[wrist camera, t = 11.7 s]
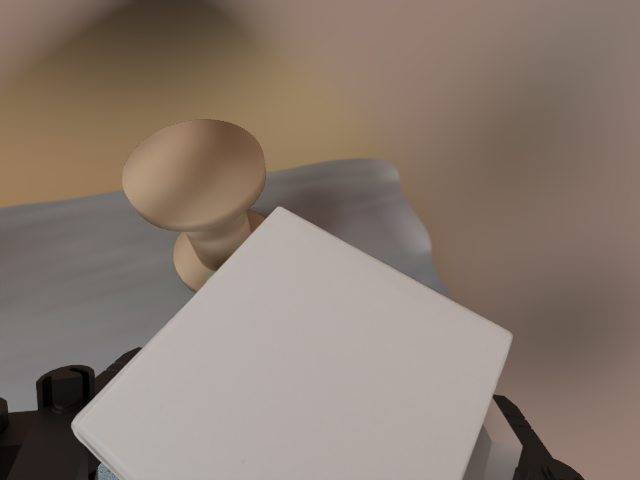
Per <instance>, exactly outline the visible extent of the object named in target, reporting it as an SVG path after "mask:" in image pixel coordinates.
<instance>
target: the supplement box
mask: <svg viewBox="0 0 640 480" xmlns="http://www.w3.org/2000/svg"><path fill="white" fill-rule="evenodd" d="M512 340H513V335H512V333H511V332H509V331H508V330H506V329H504V328H503V327H501V326H499V325H497V324H495V323H494V322H492V321H490V320H488V319H485V318H484V317H482V316H480V315H479V314H477V313H474V312H473V311H471V310H469V309H468V308H466V307H464V306H462V305H460V304H458V303H456V302H454V301H453V300H451V299H449V298H447V297H445V296H444V295H442V294H440V293H438V292H436V291H434V290H433V289H431V288H429V287H427V286H425V285H424V284H422V283H420V282H418V281H416V280H414V279H413V278H411V277H409V276H407V275H405V274H403V273H401V272H400V271H398V270H396V269H394V268H392V267H390V266H389V265H387V264H385V263H383V262H381V261H379V260H378V259H376V258H374V257H372V256H370V255H368V254H367V253H365V252H363V251H361V250H359V249H357V248H356V247H354V246H352V245H350V244H348V243H346V242H345V241H343V240H341V239H339V238H337V237H336V236H334V235H332V234H330V233H328V232H327V231H325V230H323V229H321V228H319V227H318V226H316V225H314V224H312V223H310V222H309V221H307V220H305V219H303V218H301V217H299V216H297V215H296V214H294V213H292V212H290V211H289V210H287V209H285V208H283V207H280V206H279V207H276V208H275V210H274V211H273V212H272V213H271V214H270V215H269V216H268V217H267V218H266V219H265V220H264V221H263V222H262V224H261V225H260V226H259V227H258V228H257V229H256V230H255V231H254V232H253V233H252V234H251V235H250V236H249V237H248V238H247V240H246V241H245V242H244V243H243V244H242V245H241V246H240V247H239V248H238V249H237V250H236V251H235V252H234V254H233V255H232V256H231V257H230V258H229V259H228V260H227V261H226V262H225V263H224V264H223V265H222V266H221V267H220V268H219V269H218V271H217V272H216V273H215V274H214V275H213V276H212V277H211V278H210V279H209V280H208V281H207V282H206V283H205V284H204V286H203V287H202V288H201V289H200V290H199V291H198V292H197V293H196V294H195V295H194V296H193V297H192V298H191V299H190V301H189V302H188V303H187V304H186V305H185V306H184V307H183V308H182V309H181V310H180V311H179V312H178V313H177V314H176V315H175V316H174V317H173V318H172V319H171V320H170V321H169V322H168V323H167V324H166V325H165V326H164V327H163V328H162V329H161V330H160V331H159V332H158V333H157V334H156V335H155V336H154V337H153V338H152V339H151V340H150V341H149V342H148V343H147V344H146V345H145V346H144V347H143V348H142V349H141V350H140V351H139V352H138V353H137V354H136V355H135V356H134V357H133V358H132V359H131V360H130V361H129V362H128V364H127V365H126V366H125V367H124V368H123V369H122V370H121V371H120V372H119V373H118V374H117V375H116V376H115V377H114V378H113V379H112V380H111V381H110V382H109V383H108V384H107V385H106V386H105V387H104V388H103V389H102V390H101V391H100V392H99V393H98V394H97V395H96V396H95V397H94V398H93V399H92V400H91V401H90V402H89V403H88V404H87V405H86V406H85V407H84V408H83V409H82V410H81V411H80V412H79V413H78V414H77V415H76V417H75V418H74V420H73V422H72V423H71V428H72V430H73V432H74V435H75V436H76V437H77V438H78V440H79V441H80V442H82V443H83V444H84V445H85V446H86V447H87V448H88V449H89V450H90V451H91V452H92V453H93V454H94V455H95V456H96V457H97V459H98V460H100V461H101V462H102V463H103V464H104V465H105V466H106V467H107V468H108V469H109V470H110V471H111V472H112V473H113V474H115V475H116V476H117V477H118V478H119V479H120V480H462V479H463V476H464V473H465V470H466V468H467V465H468V462H469V460H470V457H471V454H472V452H473V449H474V446H475V443H476V441H477V438H478V435H479V432H480V429H481V427H482V424H483V421H484V418H485V416H486V413H487V410H488V407H489V405H490V402H491V399H492V397H493V394H494V391H495V389H496V386H497V383H498V380H499V377H500V375H501V372H502V369H503V366H504V363H505V361H506V358H507V355H508V352H509V350H510V347H511V344H512Z"/></svg>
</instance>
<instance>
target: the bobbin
mask: <svg viewBox="0 0 640 480" xmlns="http://www.w3.org/2000/svg"><path fill="white" fill-rule="evenodd" d="M265 180H266V168H265V162H264V155H263V151H262V149H261V146H260V145H259V143H258V141H257V140H256V139H255V138H254V137H253V136H252V135H251V134H250V133H249V132H248V131H246V130H245V129H243V128H241V127H239V126H237V125H234V124H231V123H228V122H224V121H219V120H209V119H200V120H189V121H184V122H180V123H176V124H173V125H170V126H168V127H165V128H163V129H161V130H159V131H156V132H155V133H153V134H151V135H150V136H148V137H147V138H146V139H144V140H143V141H142V142H141V143H140V144H138V145H137V146H136V148H135V149H134V150H133V151H132V152H131V154H130V156H129V157H128V158H127V160H126V163H125V165H124V168H123V173H122V185H123V189H124V192H125V194H126V196H127V198H128V199H129V201H130V202H131V204H132V205H133V207H134V208H135V209H136V211H137V212H138V213H139V215H141V216H142V217H143V218H144V219H145V220H147V221H148V222H150V223H151V224H153V225H155V226H158V227H160V228H163V229H167V230H172V231H179V232H181V233H180V235H179V236H178V238H177V240H176V243H175V246H174V252H173V260H174V265H175V268H176V270H177V272H178V274H179V276H180V277H181V279H182V280H183V282H184V283H185V284H186V285H187V286H188V287H189V288H190V289H191V290H192V291H194V292H195V293H197V292H198V291H199V290H200V289H201V288H202V287H203V286H204V284H205V283H206V282H207V279H208V276H209V273H210V272H217V271H218V269H219V268H220V267H221V266H222V265H223V264H224V263H225V262H226V261H227V260H228V259H229V258H230V257H231V256H232V255H233V254H234V252H235V251H236V250H237V249H238V248H239V247H240V246H241V245H242V244H243V243H244V242H245V241H246V240H247V238H248V237H249V236H250V235H251V234H252V233H253V232H254V231H255V230H256V229H257V228H258V227H259V226H260V225H261V224H262V222H263V221H264V220H265V218H264V217H262V216H261V215H259V214H258V213H256V212H254V211H252V210H249V208H250V207H251V206H252V205H253V204H254V203H255V201H256V200H257V199H258V197H259V196H260V194H261V192H262V190H263V187H264V185H265Z"/></svg>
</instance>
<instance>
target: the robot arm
mask: <svg viewBox="0 0 640 480" xmlns="http://www.w3.org/2000/svg"><path fill="white" fill-rule="evenodd" d="M141 349H142V348H140V347H138V348H136V349H134V350H131V351H129V352H127V353H125V354H123V355H122V356H121V357H120V358H119V359H118V360H116V361H115V363H114V364H112V365H110V366H109V367H108V368H107V369H106V371H105V370H104V371H103V372H102V373H101V374H100V375H98V376H97V377H96V378H95V374H94V370H93V369H92V368H90V367H88V366H84V365H70V366H65V367H60V368H57V369H55V370H52V371H49V372H48V373H46V374H44V375H43V376H41V377H40V378H39V379H38V381H37V382H36V389H37V403H38V410H35V411H24V412H11V413H8V406H7V401H6V400H4V399H3V398H0V480H98V466H99V465H100V463H101V461H100V460H98V459H97V457H96V456H95V455H94V454H93V453H92V452H91V451H90V450H89V449H88V448H87V447H86V446H85V445H84V444H83V443H82V442H80V441H79V440H78V438H77V437H76V436H75V435H74V432H73V430H72V428H71V423H72V422H73V420H74V418H75V417H76V415H77V414H78V413H79V412H80V411H81V410H82V409H83V408H84V407H85V406H86V405H87V404H88V403H89V402H90V401H91V400H92V399H93V398H94V397H95V396H96V395H97V394H98V393H99V392H100V391H101V390H102V389H103V388H104V387H105V386H106V385H107V384H108V383H109V382H110V381H111V380H112V379H113V378H114V377H115V376H116V375H117V374H118V373H119V372H120V371H121V370H122V369H123V368H124V367H125V366H126V365H127V364H128V362H129V361H130V360H131V359H132V358H133V357H134V356H135V355H136V354H137V353H138V352H139V351H140V350H141ZM108 471H109V472H111V471H110V470H109V469H108ZM462 480H584V478H583V477H582V476H581V475H580V474H579V473H577V472H576V471H575V470H574V469H572V468H571V467H570V466H568V465H566V464H564V463H562V462H560V461H558V460H555V459H553V458H552V456H551V455H550V453H549V452H548V450H547V449H546V447H545V446H544V445H543V443H542V442H541V440H540V439H539V437H538V436H537V435H536V433H535V432H534V430H533V429H531V426H530V425H529V423H528V422H527V420H525V417H524V416H523V414H522V413H521V412H520V410H519V409H518V407H517V406H516V405H514V404H513V403H512V402H511V401H510V400H508V399H507V398H506V397H505V396H500V395H493V397H492V399H491V402H490V405H489V407H488V410H487V413H486V416H485V418H484V421H483V424H482V427H481V429H480V432H479V435H478V438H477V441H476V443H475V446H474V449H473V452H472V454H471V457H470V460H469V462H468V465H467V468H466V470H465V473H464V476H463V479H462Z"/></svg>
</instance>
